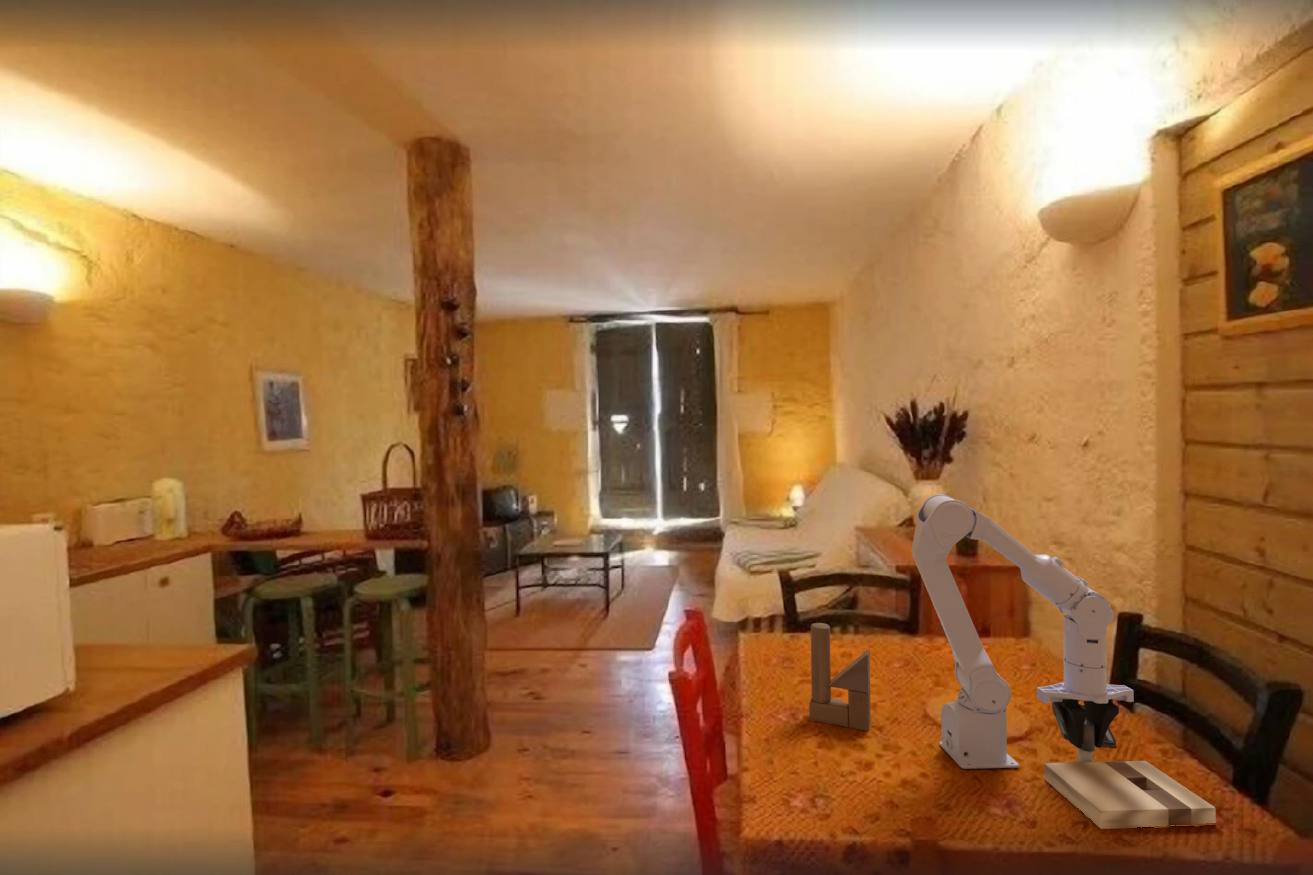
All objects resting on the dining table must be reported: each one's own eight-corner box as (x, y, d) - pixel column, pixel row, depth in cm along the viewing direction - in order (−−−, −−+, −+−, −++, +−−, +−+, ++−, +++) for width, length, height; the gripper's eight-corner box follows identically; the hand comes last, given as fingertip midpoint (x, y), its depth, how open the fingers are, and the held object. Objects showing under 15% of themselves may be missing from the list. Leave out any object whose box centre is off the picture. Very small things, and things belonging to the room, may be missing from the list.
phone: (1098, 707, 119) (1117, 743, 105) (1098, 713, 119) (1117, 750, 105) (1050, 700, 122) (1062, 734, 109) (1050, 706, 122) (1062, 740, 109)
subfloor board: (1100, 828, 84) (1100, 810, 84) (1044, 779, 96) (1044, 763, 96) (1215, 825, 85) (1215, 807, 85) (1145, 776, 97) (1145, 760, 97)
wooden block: (868, 732, 112) (867, 634, 112) (809, 721, 117) (807, 626, 116) (870, 723, 115) (869, 628, 115) (812, 712, 120) (811, 621, 120)
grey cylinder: (1083, 770, 99) (1082, 726, 99) (1071, 761, 101) (1071, 719, 101) (1099, 769, 99) (1098, 726, 99) (1087, 761, 101) (1087, 718, 101)
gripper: (1056, 672, 96) (1057, 758, 96) (1148, 670, 96) (1149, 756, 96) (1028, 655, 103) (1029, 736, 103) (1114, 653, 103) (1115, 734, 103)
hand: (1085, 744), depth 100 cm, fingers closed on grey cylinder, 3 cm apart
